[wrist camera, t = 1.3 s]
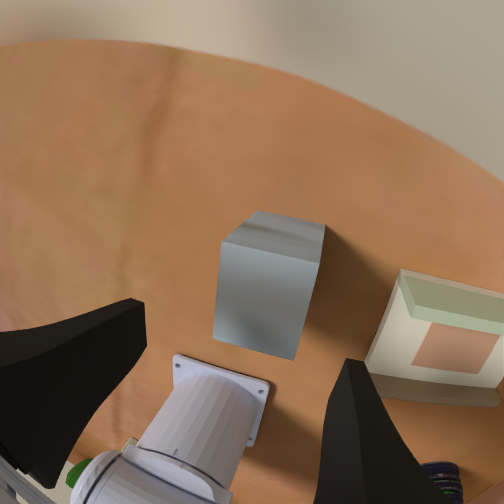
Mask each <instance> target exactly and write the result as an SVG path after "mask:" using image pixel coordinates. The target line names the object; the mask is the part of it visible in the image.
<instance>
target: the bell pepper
mask: <svg viewBox="0 0 504 504" xmlns="http://www.w3.org/2000/svg"><path fill="white" fill-rule="evenodd" d="M92 460H93V459H85V460H83V461H81V462H80V463H78V464H77V465H76V466H74V467H73V468H72V469H71V470H70V472H69V473H68V474H67V479H66V484H67V485H68V486H69V487H71V488H74V486H75V484H76V482H77V481H78V479H79V477H80V476H81V474H82V473H83V471H84V470H85V468H86V467H87V466H88V465H89V463H90V462H91V461H92Z"/></svg>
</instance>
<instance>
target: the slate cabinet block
mask: <svg viewBox="0 0 504 504" xmlns="http://www.w3.org/2000/svg"><path fill="white" fill-rule="evenodd" d="M324 231H325V224H320V223H316V222H311V221H307V220H302V219H297V218H293V217H288V216H283V215H278V214H274V213H269V212H264V211H259V210H257V211H256V212H255V213H254V214H253V215H252V216H250V217H249V218H248V219H247V220H246V221H245V222H243V223H242V224H241V225H240V226H239V227H238V228H237V229H235V230H234V231H233V232H232V233H231V234H230V235H229V236H227V237H226V238H225V239H224V240H223V241H222V245H221V254H220V264H219V274H218V284H217V294H216V305H215V316H214V328H213V339H216V340H219V341H222V342H226V343H229V344H233V345H236V346H240V347H243V348H247V349H250V350H254V351H258V352H262V353H265V354H269V355H273V356H277V357H281V358H285V359H289V360H293V361H294V358H295V355H296V351H297V348H298V344H299V341H300V337H301V334H302V330H303V326H304V323H305V319H306V315H307V312H308V308H309V304H310V300H311V296H312V292H313V289H314V285H315V281H316V276H317V272H318V268H319V264H320V258H321V252H322V245H323V238H324Z"/></svg>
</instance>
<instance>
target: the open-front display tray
mask: <svg viewBox="0 0 504 504" xmlns="http://www.w3.org/2000/svg"><path fill="white" fill-rule="evenodd" d="M364 363H365V365H366V367H367V369H368V372H369V374H370V376H371V379H372V381H373V383H374V385H375V388H376V390H377V392H378V394H379V396H380V397H384V398H391V399H398V400H406V401H414V402H423V403H433V404H444V405H457V406H474V407H497V406H498V404H499V403H500V402H501V399H500V397H499V395H498V392H497V390H496V387H497V386H498V384H499V383H500V381H501V380H502V378H503V377H504V294H502V293H499V292H495V291H491V290H487V289H483V288H479V287H475V286H471V285H467V284H463V283H459V282H455V281H451V280H447V279H443V278H439V277H435V276H431V275H427V274H423V273H419V272H415V271H410V270H406V269H402V268H400V270H399V273H398V276H397V279H396V282H395V285H394V288H393V290H392V293H391V296H390V299H389V302H388V304H387V307H386V310H385V312H384V315H383V317H382V320H381V323H380V325H379V328H378V330H377V332H376V335H375V337H374V340H373V342H372V344H371V347H370V349H369V351H368V354H367V356H366V358H365V361H364Z"/></svg>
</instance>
